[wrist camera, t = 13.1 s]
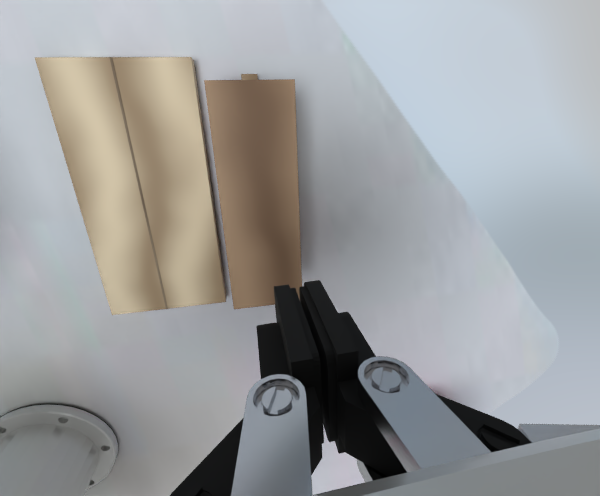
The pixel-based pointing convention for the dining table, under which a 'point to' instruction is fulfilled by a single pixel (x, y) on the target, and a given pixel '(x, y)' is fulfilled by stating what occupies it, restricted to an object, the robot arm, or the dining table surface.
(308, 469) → the robot arm
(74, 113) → the board
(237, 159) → the brown wooden block
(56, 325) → the dining table surface
